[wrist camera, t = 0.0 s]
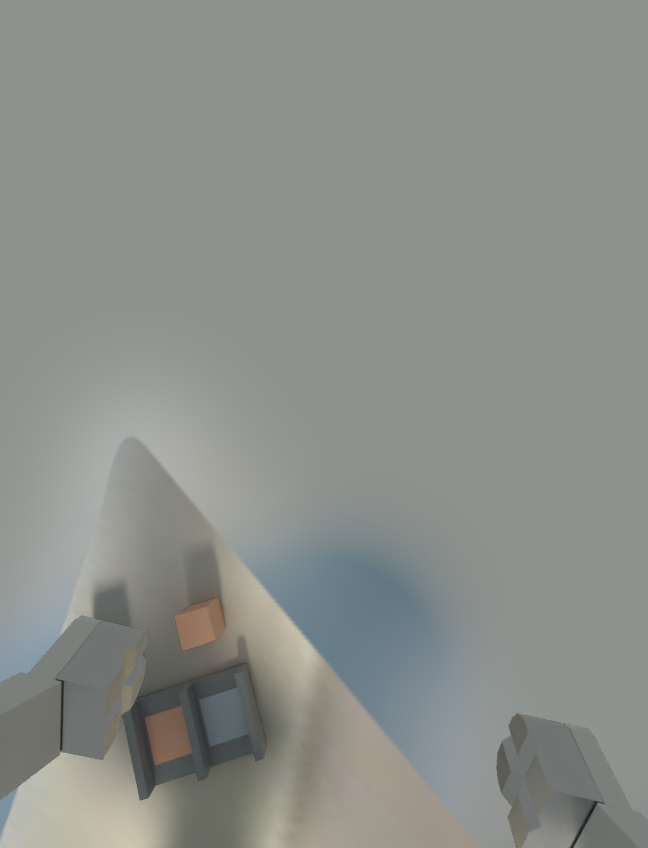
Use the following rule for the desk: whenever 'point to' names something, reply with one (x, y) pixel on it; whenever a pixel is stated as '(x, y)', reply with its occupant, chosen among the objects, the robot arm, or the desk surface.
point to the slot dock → (193, 728)
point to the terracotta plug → (200, 623)
